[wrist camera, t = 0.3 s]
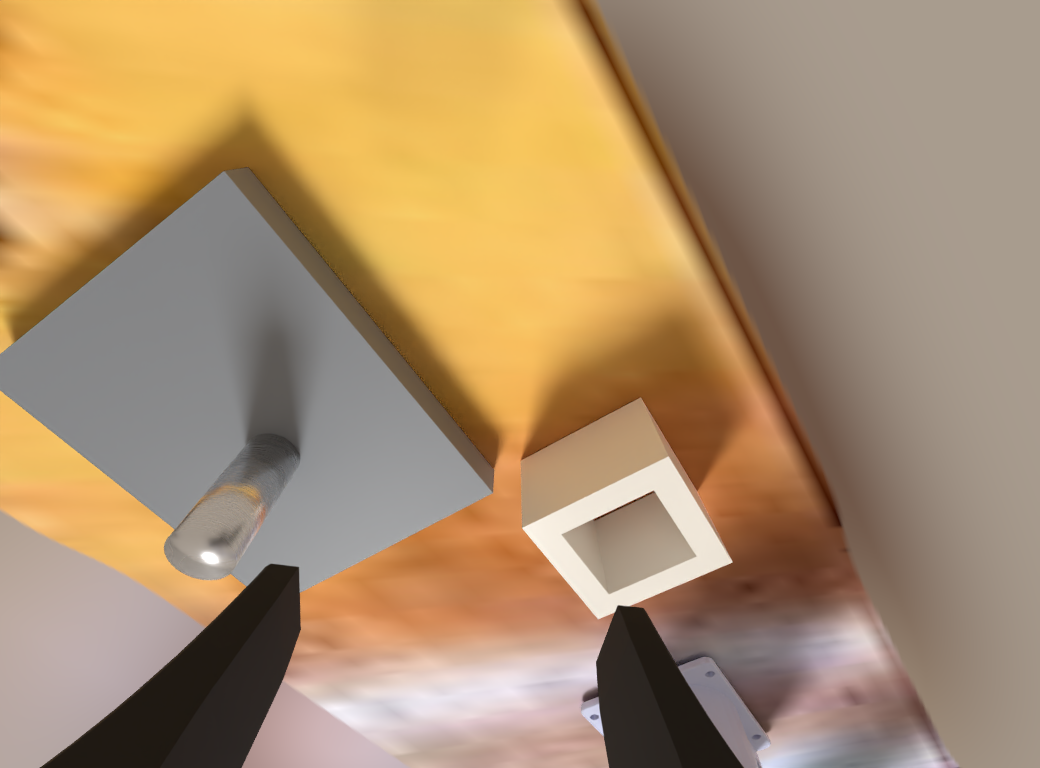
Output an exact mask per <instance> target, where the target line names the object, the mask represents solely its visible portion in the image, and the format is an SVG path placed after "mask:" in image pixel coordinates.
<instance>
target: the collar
mask: <svg viewBox="0 0 1040 768" xmlns="http://www.w3.org/2000/svg"><path fill="white" fill-rule="evenodd" d="M652 491H655V492H654V493H652V494H650V495H648V496H646V497H644V498H642V499H640V500H638V501H635V502H633V503H631V504H629V505H627V506H625V507H623V508H621V509H619V510H617V511H614V512H612V513H610V514H608V515H606V516H604V517H602V518H600V519H598V520H595V521H594V520H593V519H595V518H597V517H599V516H601V515H603V514H605V513H607V512H609V511H612V510H614V509H616V508H618V507H620V506H622V505H624V504H626V503H628V502H631V501H633V500H635V499H637V498H639V497H641V496H643V495H645V494H647V493H649V492H652ZM521 499H522V529H523V530H524V531H525V532H526V533H527V535H528V536H529V537H530V538H531V539H532V541H533V542H534V543H535V544H536V545H537V546H538V548H539V549H540V550H541V551H542V552H543V554H544V555H545V556H546V557H547V558H548V560H549V561H550V562H551V563H552V564H553V566H554V567H555V568H556V569H557V570H558V572H559V573H560V574H561V575H562V576H563V578H564V579H565V580H566V581H567V582H568V584H569V585H570V586H571V587H572V588H573V590H574V591H575V592H576V593H577V594H578V596H579V597H580V598H581V599H582V600H583V602H584V603H585V604H586V605H587V606H588V608H589V609H590V610H591V611H592V612H593V614H594V615H595V616H596V617H597V618H598V619H600V618H602V617H605V616H607V615H609V614H612V613H614V612H615V611H616V608H617V606H618V605H622V606H631V605H633V604H635V603H638V602H640V601H643V600H645V599H647V598H650V597H652V596H654V595H657V594H659V593H661V592H664V591H666V590H669V589H671V588H673V587H676V586H678V585H680V584H683V583H685V582H688V581H690V580H692V579H695V578H697V577H699V576H702V575H704V574H706V573H709V572H711V571H714V570H716V569H718V568H721V567H723V566H725V565H728V564H730V563H733V562H732V560H731V558H730V556H729V554H728V552H727V550H726V548H725V546H724V544H723V542H722V540H721V538H720V536H719V534H718V532H717V530H716V528H715V526H714V524H713V522H712V520H711V518H710V516H709V514H708V512H707V510H706V508H705V506H704V504H703V502H702V500H701V498H700V496H699V494H698V492H697V490H696V489H695V487H694V485H693V484H692V482H691V480H690V479H689V477H688V475H687V474H686V472H685V470H684V469H683V467H682V465H681V464H680V462H679V460H678V458H677V457H676V455H675V453H674V452H673V450H672V448H671V447H670V445H669V443H668V442H667V440H666V438H665V437H664V435H663V433H662V432H661V430H660V428H659V427H658V425H657V423H656V422H655V420H654V418H653V417H652V415H651V413H650V412H649V410H648V408H647V407H646V405H645V403H644V402H643V400H642V398H641V397H640V398H638V399H637V400H635V401H633V402H631V403H629V404H627V405H625V406H623V407H621V408H619V409H618V410H616V411H614V412H612V413H610V414H608V415H606V416H604V417H602V418H600V419H599V420H597V421H595V422H593V423H591V424H589V425H587V426H585V427H583V428H581V429H580V430H578V431H576V432H574V433H572V434H570V435H568V436H566V437H564V438H563V439H561V440H559V441H557V442H555V443H553V444H551V445H549V446H547V447H545V448H544V449H542V450H540V451H538V452H536V453H534V454H532V455H530V456H528V457H526V458H525V459H523V460H521Z"/></svg>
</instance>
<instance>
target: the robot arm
mask: <svg viewBox="0 0 1040 768" xmlns="http://www.w3.org/2000/svg"><path fill="white" fill-rule="evenodd" d="M300 630H301V626H300V583H299V567H296V566H288V565H279V564H269V565H267V566H266V567H265V568H264V569H263V570H262V571H261V572H260V573H259V574H258V575H257V576H256V577H255V579H254V580H253V581H252V582H251V583H250V584H249V585H248V586H247V587H246V588H245V589H244V590H243V591H242V592H241V593H240V594H239V595H238V596H237V597H236V598H235V599H234V600H233V601H232V602H231V603H230V604H229V605H228V607H227V608H226V609H225V610H224V611H223V612H222V613H221V614H220V615H219V616H218V617H217V618H216V619H215V620H213V621H212V622H211V623H210V624H209V625H208V626H207V627H206V628H205V629H204V630H203V631H202V632H201V633H200V634H199V635H198V636H197V637H196V638H195V639H194V640H193V641H192V642H191V643H190V644H188V645H187V646H186V647H185V648H184V649H183V650H182V651H181V652H180V653H179V654H178V655H177V656H176V657H174V658H173V659H172V660H171V661H170V662H169V663H168V664H167V665H165V666H164V667H163V668H162V669H161V670H160V671H159V672H158V673H156V674H155V675H154V676H153V677H152V678H151V679H150V680H149V681H148V682H146V683H145V684H144V685H143V686H142V687H141V688H140V689H138V690H137V691H136V692H135V693H134V694H133V695H132V696H130V697H129V698H128V699H127V700H125V701H124V702H123V703H122V704H121V705H120V706H118V707H117V708H116V709H115V710H114V711H112V712H111V713H110V714H109V715H107V716H106V717H105V718H104V719H103V720H101V721H100V722H99V723H98V724H96V725H95V726H94V727H92V728H91V729H90V730H89V731H87V732H86V733H85V734H84V735H82V736H81V737H80V738H79V739H78V740H76V741H75V742H74V743H72V744H71V745H70V746H68V747H67V748H66V749H64V750H63V751H62V752H60V753H59V754H58V755H56V756H55V757H54V758H53V759H51V760H50V761H48V762H47V763H46V764H44V765H43V766H42V767H40V768H242V765H243V763H244V761H245V759H246V757H247V755H248V753H249V751H250V749H251V747H252V744H253V742H254V740H255V738H256V736H257V734H258V732H259V729H260V728H261V725H262V723H263V721H264V719H265V717H266V715H267V713H268V711H269V708H270V706H271V704H272V702H273V700H274V697H275V696H276V693H277V691H278V689H279V687H280V685H281V683H282V680H283V678H284V675H285V672H286V670H287V667H288V664H289V661H290V659H291V656H292V653H293V650H294V647H295V644H296V641H297V639H298V636H299V633H300ZM596 666H597V683H598V697H596V698H593V699H591V700H588V701H586V702H584V703H582V705H581V713H582V715H583V716H584V717H585V718H586V719H587V720H588V721H589V722H590V723H591V724H592V725H593V726H594V727H595V728H596V729H597V730H598V731H599V732H600V733H601V734H602V735H603V736H604V740H605V746H606V751H607V757H608V763H609V768H762V765H761V763H760V760H759V758H758V755H757V753H756V751H759V750H763V749H765V748H768V747H769V746H770V744H771V743H770V740H769V738H768V736H767V734H766V733H765V731H764V730H763V729H762V727H761V726H760V724H759V723H758V722H757V720H756V719H755V717H754V716H753V715H752V713H751V712H750V711H749V709H748V708H747V706H746V705H745V704H744V702H743V701H742V699H741V698H740V697H739V695H738V694H737V692H736V691H735V690H734V688H733V687H732V685H731V684H730V683H729V681H728V680H727V679H726V677H725V676H724V674H723V673H722V672H721V670H720V669H719V667H718V666H717V665H716V663H715V662H714V660H713V659H711V658H709V657H701V658H698V659H696V660H693V661H690V662H688V663H685V664H683V665H680V666H677V665H676V663H675V661H674V660H673V658H672V656H671V655H670V653H669V651H668V649H667V648H666V646H665V644H664V642H663V641H662V639H661V637H660V636H659V634H658V632H657V630H656V628H655V627H654V625H653V623H652V621H651V620H650V618H649V616H648V614H647V613H646V611H645V610H644V608H639V607H630V606H622V605H618V606H617V608H616V611H615V614H614V616H613V619H612V621H611V624H610V627H609V629H608V632H607V635H606V637H605V640H604V643H603V645H602V648H601V651H600V653H599V656H598V659H597V661H596Z"/></svg>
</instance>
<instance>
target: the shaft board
mask: <svg viewBox="0 0 1040 768" xmlns="http://www.w3.org/2000/svg"><path fill="white" fill-rule="evenodd" d="M0 391H2V392H3V393H4V394H5V395H7V396H8V397H9V398H10V399H12V400H13V401H14V402H15V403H17V404H18V405H19V406H21V407H22V408H23V409H24V410H26V411H27V412H28V413H29V414H31V415H32V416H33V417H34V418H36V419H37V420H38V421H39V422H41V423H42V424H43V425H44V426H46V427H47V428H48V429H49V430H51V431H52V432H53V433H54V434H56V435H57V436H58V437H59V438H61V439H62V440H63V441H64V442H66V443H67V444H68V445H70V446H71V447H72V448H73V449H75V450H76V451H77V452H78V453H80V454H81V455H82V456H83V457H85V458H86V459H87V460H88V461H90V462H91V463H92V464H93V465H95V466H96V467H97V468H98V469H100V470H101V471H102V472H103V473H105V474H106V475H107V476H108V477H110V478H111V479H112V480H113V481H115V482H116V483H117V484H119V485H120V486H121V487H122V488H124V489H125V490H126V491H127V492H129V493H130V494H131V495H132V496H134V497H135V498H136V499H137V500H139V501H140V502H141V503H142V504H144V505H145V506H146V507H147V508H149V509H150V510H151V511H152V512H154V513H155V514H156V515H157V516H159V517H160V518H161V519H162V520H164V521H165V522H166V523H168V524H169V525H170V526H171V527H173V528H174V529H175V530H174V531H173V532H172V534H171V535H170V536H169V537H168V538H167V540H166V542H165V545H164V552H165V555H166V557H167V559H168V561H169V562H170V563H171V564H172V565H173V566H174V567H175V568H176V569H177V570H179V571H180V572H182V573H184V574H186V575H188V576H190V577H193V578H197V579H202V580H217V579H221V578H224V577H226V576H228V575H229V574H232V575H233V576H234V577H235V578H237V579H238V580H239V581H240V582H242V583H243V584H244V585H245V586H248V585H249V584H250V583H251V582H252V581H253V580H254V579H255V577H256V576H257V575H258V574H259V573H260V572H261V571H262V570H263V569H264V568H265V567H266V566H267V565H269V564H279V565H288V566H296V567H299V583H300V592H302V591H304V590H306V589H308V588H310V587H312V586H314V585H316V584H318V583H320V582H322V581H324V580H326V579H327V578H329V577H331V576H333V575H335V574H337V573H339V572H341V571H343V570H345V569H347V568H349V567H351V566H353V565H355V564H356V563H358V562H360V561H362V560H364V559H366V558H368V557H370V556H372V555H374V554H376V553H378V552H380V551H382V550H384V549H385V548H387V547H389V546H391V545H393V544H395V543H397V542H399V541H401V540H403V539H405V538H407V537H409V536H411V535H413V534H414V533H416V532H418V531H420V530H422V529H424V528H426V527H428V526H430V525H432V524H434V523H436V522H438V521H440V520H442V519H443V518H445V517H447V516H449V515H451V514H453V513H455V512H457V511H459V510H461V509H463V508H465V507H467V506H469V505H471V504H472V503H474V502H476V501H478V500H480V499H482V498H484V497H486V496H488V495H490V494H492V493H493V483H494V469H493V468H492V467H491V465H490V464H489V463H488V462H487V461H486V459H485V458H484V457H483V456H482V454H481V453H480V452H479V451H478V449H477V448H476V447H475V446H474V445H473V443H472V442H471V441H470V440H469V438H468V437H467V436H466V435H465V433H464V432H463V431H462V430H461V429H460V427H459V426H458V425H457V424H456V422H455V421H454V420H453V419H452V417H451V416H450V415H449V414H448V413H447V411H446V410H445V409H444V408H443V406H442V405H441V404H440V403H439V401H438V400H437V399H436V398H435V397H434V395H433V394H432V393H431V392H430V390H429V389H428V388H427V387H426V385H425V384H424V383H423V382H422V381H421V379H420V378H419V377H418V376H417V374H416V373H415V372H414V371H413V369H412V368H411V367H410V366H409V365H408V363H407V362H406V361H405V360H404V358H403V357H402V356H401V355H400V353H399V352H398V351H397V350H396V349H395V347H394V346H393V345H392V344H391V342H390V341H389V340H388V339H387V337H386V336H385V335H384V334H383V333H382V331H381V330H380V329H379V328H378V326H377V325H376V324H375V323H374V321H373V320H372V319H371V318H370V317H369V315H368V314H367V313H366V312H365V310H364V309H363V308H362V307H361V305H360V304H359V303H358V302H357V301H356V299H355V298H354V297H353V296H352V294H351V293H350V292H349V291H348V289H347V288H346V287H345V286H344V285H343V283H342V282H341V281H340V280H339V278H338V277H337V276H336V275H335V273H334V272H333V271H332V270H331V268H330V267H329V266H328V265H327V264H326V262H325V261H324V260H323V259H322V257H321V256H320V255H319V254H318V252H317V251H316V250H315V249H314V248H313V246H312V245H311V244H310V243H309V241H308V240H307V239H306V238H305V236H304V235H303V234H302V233H301V232H300V230H299V229H298V228H297V227H296V225H295V224H294V223H293V222H292V220H291V219H290V218H289V217H288V216H287V214H286V213H285V212H284V211H283V209H282V208H281V207H280V206H279V204H278V203H277V202H276V201H275V200H274V198H273V197H272V196H271V195H270V193H269V192H268V191H267V190H266V188H265V187H264V186H263V185H262V184H261V182H260V181H259V180H258V179H257V177H256V176H255V175H254V174H253V172H252V171H251V170H250V169H249V168H248V167H246V168H239V169H233V170H227V171H223V172H222V173H221V174H220V175H218V176H217V177H216V178H215V179H213V180H212V181H211V182H210V183H209V184H207V185H206V186H205V187H204V188H202V189H201V190H200V191H199V192H198V193H196V194H195V195H194V196H193V197H192V198H190V199H189V200H188V201H187V202H185V203H184V204H183V205H182V206H181V207H179V208H178V209H177V210H176V211H174V212H173V213H172V214H171V215H170V216H168V217H167V218H166V219H165V220H163V221H162V222H161V223H160V224H159V225H157V226H156V227H155V228H154V229H152V230H151V231H150V232H149V233H148V234H146V235H145V236H144V237H143V238H141V239H140V240H139V241H138V242H137V243H135V244H134V245H133V246H132V247H131V248H129V249H128V250H127V251H126V252H124V253H123V254H122V255H121V256H120V257H118V258H117V259H116V260H115V261H113V262H112V263H111V264H110V265H109V266H107V267H106V268H105V269H104V270H102V271H101V272H100V273H99V274H98V275H96V276H95V277H94V278H93V279H91V280H90V281H89V282H88V283H87V284H85V285H84V286H83V287H82V288H80V289H79V290H78V291H77V292H76V293H74V294H73V295H72V296H71V297H69V298H68V299H67V300H66V301H65V302H63V303H62V304H61V305H60V306H59V307H57V308H56V309H55V310H54V311H52V312H51V313H50V314H49V315H48V316H46V317H45V318H44V319H43V320H41V321H40V322H39V323H38V324H37V325H35V326H34V327H33V328H32V329H30V330H29V331H28V332H27V333H26V334H24V335H23V336H22V337H21V338H19V339H18V340H17V341H16V342H15V343H13V344H12V345H11V346H10V347H8V348H7V349H6V350H5V351H4V352H2V353H1V354H0Z"/></svg>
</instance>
